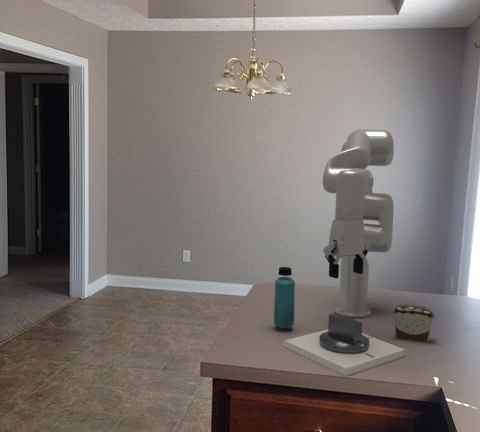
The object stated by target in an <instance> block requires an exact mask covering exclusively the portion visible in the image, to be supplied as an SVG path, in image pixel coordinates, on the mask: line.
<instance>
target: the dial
mask: <svg viewBox="0 0 480 432" xmlns="http://www.w3.org/2000/svg"><path fill="white" fill-rule="evenodd" d="M327 324H328V325H327V328H328V332H325V333H322V334H321V335H320V338H319V344H320V345H321V346H322V347H323V348H325V349H327V350H330V351H333V352H338V353H347V354H353V353H361V352H364V351H366V350H368V349H369V339H368V338H367V337H365V336H364V335H362V333H363V321H362V322H361V321H359V320H357V319H353V318H352V317H347V316H343V315H340V314H337V313H336V312H335V313H331V314H329V315H328V323H327Z"/></svg>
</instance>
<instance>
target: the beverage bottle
mask: <svg viewBox="0 0 480 432" xmlns="http://www.w3.org/2000/svg"><path fill="white" fill-rule="evenodd" d="M278 275H279V276H280V277H278V278H277V279H276V280H274V283H275V284H274V303H273V324H274V326H276V327H278V328H284V329H287V328H288V329H289V328H292V327H293V326H294V325H295V298H296V297H295V284H296V282H295V280H294V279H293V278H291V276H292V268H291V267H288V266H279V268H278ZM289 276H290V277H289Z"/></svg>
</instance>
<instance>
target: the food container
mask: <svg viewBox="0 0 480 432" xmlns="http://www.w3.org/2000/svg"><path fill="white" fill-rule="evenodd" d="M392 315H394V333H395V341H403V342H404V341H405V342H410V343H411V342H412V343H418V344H419V343H420V344H426V345H428V344H429V339H430V335H431V334H430V333H431V328H432V322H433V319H434V320H436V317H435V313H434V310H433V309H431V308H429V307H426V306H424V305H419V304H413V303H412V304H409V303H408V304H407V303H405V304H396V305H395V306H394V308H393V310H392Z"/></svg>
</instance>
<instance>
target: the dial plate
mask: <svg viewBox="0 0 480 432" xmlns="http://www.w3.org/2000/svg"><path fill="white" fill-rule="evenodd" d="M325 332H328V329H324V330H320V331H317V332H312V333H308V334H303V335H301V336H296V337H292V338H289V339H285V340H284V346H283V347H284V348H286V349H287V350H290V351H292V352H294V353H296V354H299V355H300V356H303V357H304V358H306V359H309V360H311V361H313V362H315V363H316V364H320V365H322V366H323V367H325V368H327V369H330V370H332V371H334V372H336V373H338V374H341V375H342V376H345V377H347V376H351V375H353V374H356V373H358V372H362V371H365V370H369V369H371V368H373V367H377V366H380V365H382V364H386V363H389V362H392V361H395V360H398V359H400V358H403V357H405V354H406V348H403V347H400V346H397V345H394V344H391V343H388V342H386V341H384V340H382V339H378V338H375V337H373V336H370V335H368V334H365V333H363V332H362V335H364V336H365V337H367V338H368V339H369V349H368V350H366V351H364V352H361V353H353V354H347V353H338V352H333V351H330V350H327V349H325V348H323V347H322V346H321V345H320V344H319V338H320V335H321V334H322V333H325Z"/></svg>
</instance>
